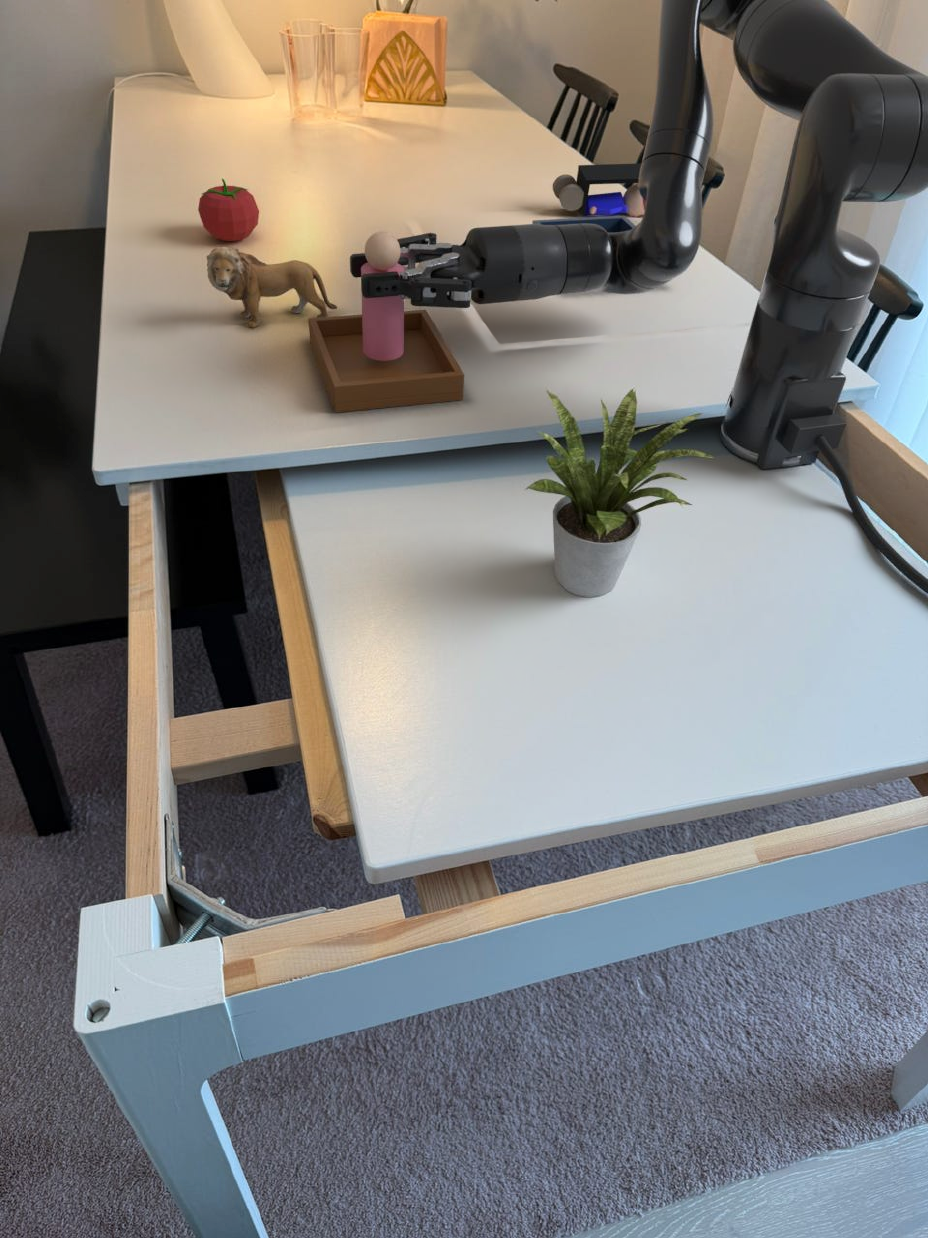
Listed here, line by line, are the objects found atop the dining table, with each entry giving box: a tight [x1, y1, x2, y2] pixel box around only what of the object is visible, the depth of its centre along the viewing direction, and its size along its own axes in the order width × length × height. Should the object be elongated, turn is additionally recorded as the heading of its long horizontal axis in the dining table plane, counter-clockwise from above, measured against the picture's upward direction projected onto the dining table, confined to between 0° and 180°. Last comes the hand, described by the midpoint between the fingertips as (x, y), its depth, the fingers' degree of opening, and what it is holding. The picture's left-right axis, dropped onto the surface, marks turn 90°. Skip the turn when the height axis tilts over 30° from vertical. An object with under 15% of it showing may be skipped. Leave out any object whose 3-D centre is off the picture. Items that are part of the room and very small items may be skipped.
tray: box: [307, 309, 465, 414], centre depth 100 cm, size 16×14×3 cm
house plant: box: [524, 388, 716, 598], centre depth 71 cm, size 14×14×16 cm
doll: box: [360, 231, 405, 361], centre depth 95 cm, size 4×4×13 cm
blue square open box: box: [531, 215, 636, 233], centre depth 123 cm, size 14×14×4 cm
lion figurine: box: [206, 246, 338, 329], centre depth 106 cm, size 15×5×9 cm, turn 113°
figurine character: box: [552, 162, 646, 218], centre depth 137 cm, size 7×8×15 cm
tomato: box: [197, 178, 260, 242], centre depth 123 cm, size 8×8×8 cm
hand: (357, 275), depth 93 cm, fingers closed on doll, 4 cm apart
